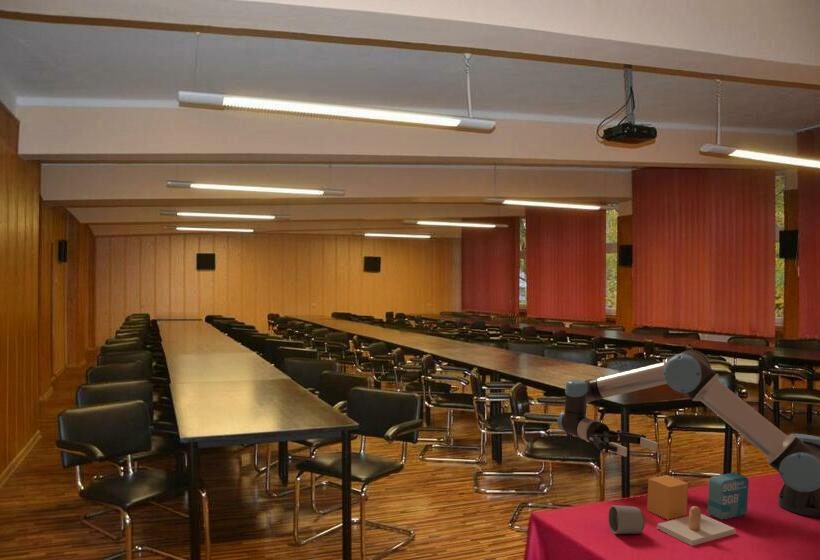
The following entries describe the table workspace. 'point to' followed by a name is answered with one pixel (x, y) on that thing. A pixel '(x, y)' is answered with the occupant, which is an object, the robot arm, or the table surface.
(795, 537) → the table surface
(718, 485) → the data package
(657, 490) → the tall orange block
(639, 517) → the ceramic mug
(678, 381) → the robot arm
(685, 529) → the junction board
